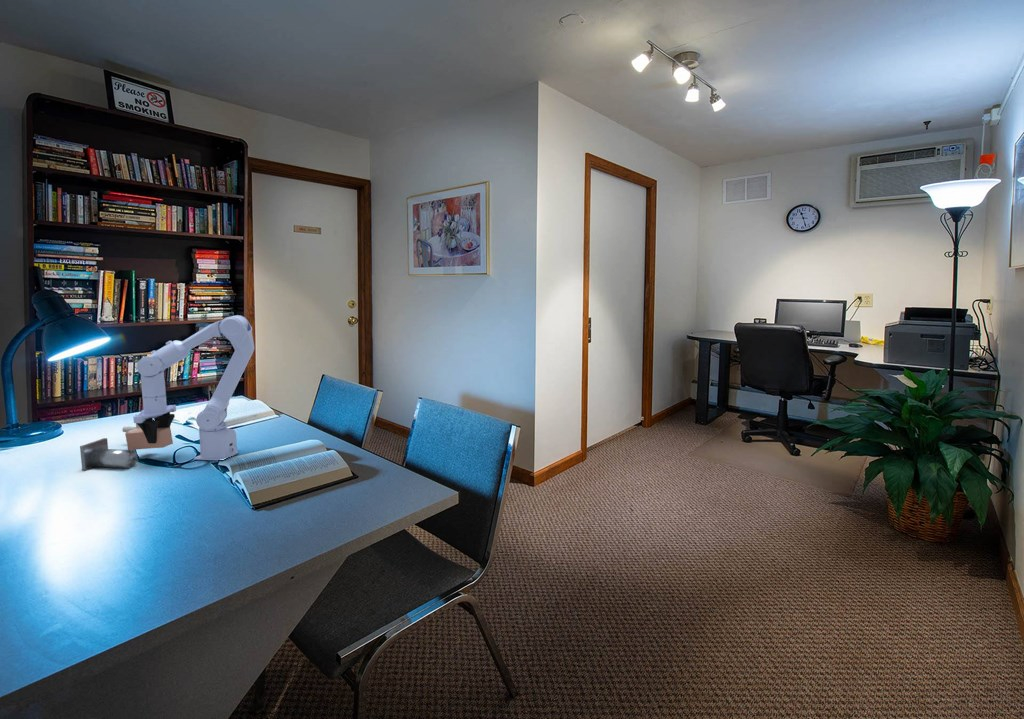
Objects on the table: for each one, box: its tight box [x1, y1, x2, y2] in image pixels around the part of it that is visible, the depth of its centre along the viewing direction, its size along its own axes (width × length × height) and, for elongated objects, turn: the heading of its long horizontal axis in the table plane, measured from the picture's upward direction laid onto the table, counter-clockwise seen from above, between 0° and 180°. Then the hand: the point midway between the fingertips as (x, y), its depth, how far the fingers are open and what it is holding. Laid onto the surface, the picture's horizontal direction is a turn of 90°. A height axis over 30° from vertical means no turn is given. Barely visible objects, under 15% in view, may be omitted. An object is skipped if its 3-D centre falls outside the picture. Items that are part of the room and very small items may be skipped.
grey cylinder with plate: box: [79, 437, 138, 472], centre depth 149 cm, size 11×8×7 cm
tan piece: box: [124, 426, 174, 451], centre depth 157 cm, size 11×8×5 cm
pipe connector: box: [121, 414, 140, 434], centre depth 169 cm, size 10×10×10 cm
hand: (157, 440), depth 155 cm, fingers closed on tan piece, 4 cm apart
